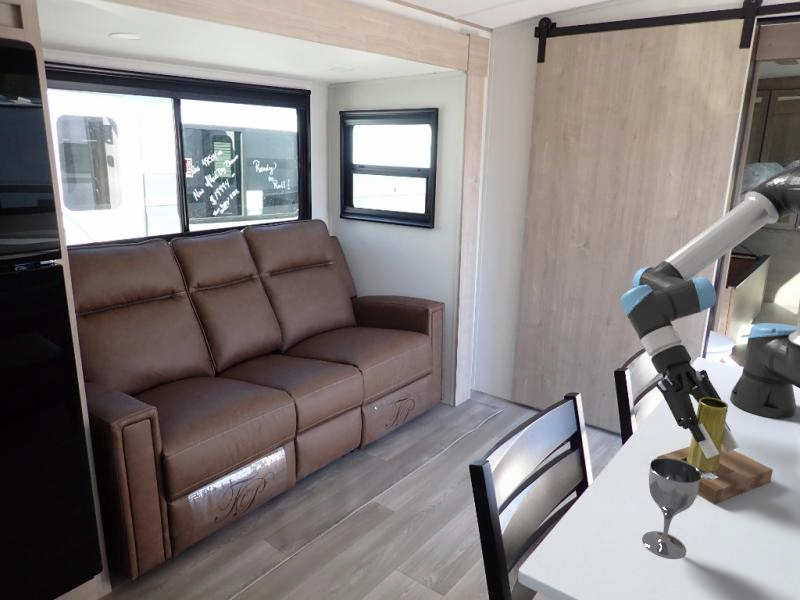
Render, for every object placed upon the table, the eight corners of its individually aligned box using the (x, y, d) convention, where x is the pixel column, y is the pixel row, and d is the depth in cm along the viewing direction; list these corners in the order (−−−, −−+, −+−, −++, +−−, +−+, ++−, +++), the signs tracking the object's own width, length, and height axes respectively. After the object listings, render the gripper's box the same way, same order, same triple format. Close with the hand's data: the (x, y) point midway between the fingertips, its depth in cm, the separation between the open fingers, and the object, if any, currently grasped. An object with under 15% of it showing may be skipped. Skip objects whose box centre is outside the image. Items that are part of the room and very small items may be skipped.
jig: (709, 450, 133) (711, 439, 132) (770, 482, 121) (772, 469, 120) (655, 468, 125) (657, 456, 124) (713, 504, 113) (716, 490, 112)
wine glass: (667, 565, 96) (680, 487, 92) (629, 537, 103) (640, 463, 99) (698, 551, 100) (712, 475, 96) (660, 525, 107) (671, 453, 103)
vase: (723, 474, 117) (735, 410, 114) (691, 470, 119) (701, 407, 115) (713, 458, 123) (724, 397, 119) (683, 455, 124) (693, 394, 120)
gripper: (682, 352, 133) (737, 448, 123) (624, 364, 125) (678, 468, 115) (706, 337, 127) (766, 437, 117) (647, 349, 119) (706, 457, 109)
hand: (722, 452), depth 116 cm, fingers closed on vase, 5 cm apart
